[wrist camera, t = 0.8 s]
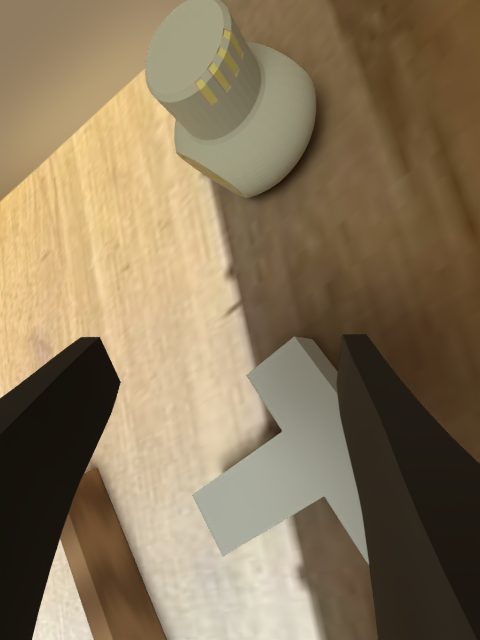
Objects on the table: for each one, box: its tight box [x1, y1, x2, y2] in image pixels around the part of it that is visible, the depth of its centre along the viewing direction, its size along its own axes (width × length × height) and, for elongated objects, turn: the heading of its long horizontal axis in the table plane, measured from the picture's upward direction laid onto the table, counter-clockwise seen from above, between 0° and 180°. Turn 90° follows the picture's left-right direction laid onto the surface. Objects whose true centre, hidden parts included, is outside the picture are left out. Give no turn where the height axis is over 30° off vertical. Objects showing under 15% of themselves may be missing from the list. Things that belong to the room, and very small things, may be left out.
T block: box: [192, 336, 369, 565], centre depth 22 cm, size 12×12×4 cm
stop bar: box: [60, 469, 166, 640], centre depth 27 cm, size 18×2×4 cm, turn 37°
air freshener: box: [145, 0, 316, 198], centre depth 23 cm, size 11×8×10 cm
